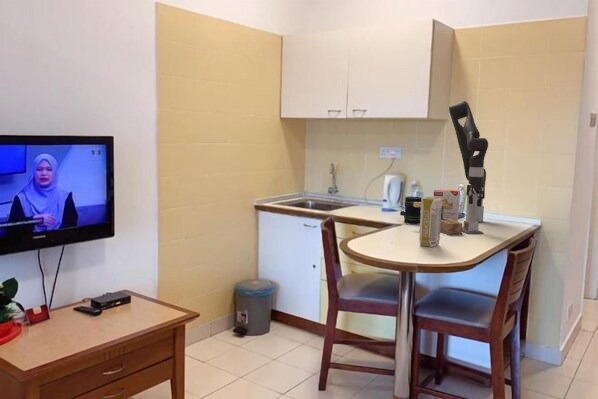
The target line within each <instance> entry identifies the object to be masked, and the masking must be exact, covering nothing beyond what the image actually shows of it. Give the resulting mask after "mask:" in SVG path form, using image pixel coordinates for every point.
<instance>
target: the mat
mask: <svg viewBox="0 0 598 399" xmlns="http://www.w3.org/2000/svg"><path fill="white" fill-rule="evenodd" d="M462 233H464V234H467V235H484V234H485V233H484V232H483V231H480V230H478V232H468V231H465V230H464V228H462Z"/></svg>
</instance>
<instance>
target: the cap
mask: <svg viewBox="0 0 598 399" xmlns="http://www.w3.org/2000/svg"><path fill="white" fill-rule="evenodd" d="M479 226H480V222H476V221H466V220H464V222H463V229H464V230H465V231H468V232H478V231H480V230H479V228H480V227H479Z"/></svg>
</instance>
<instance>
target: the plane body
mask: <svg viewBox="0 0 598 399" xmlns="http://www.w3.org/2000/svg"><path fill="white" fill-rule="evenodd" d="M462 229H463V223H462V222H460V221H458V222H457V221H454V220H451V219H449V218H446V217H443V218H441V225H440V233H442V234H444V235H447V236H458V235H459V236H462V235H463V233H464V232H462Z"/></svg>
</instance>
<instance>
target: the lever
mask: <svg viewBox="0 0 598 399" xmlns="http://www.w3.org/2000/svg"><path fill="white" fill-rule="evenodd" d="M441 203H442V207H441V218H443V207H445V202H441ZM413 207H421V202H414V205H413Z"/></svg>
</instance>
